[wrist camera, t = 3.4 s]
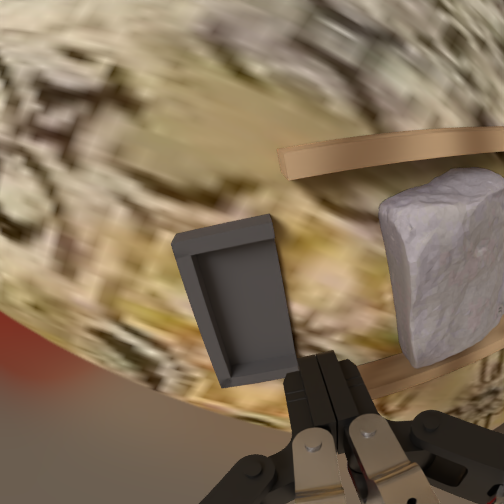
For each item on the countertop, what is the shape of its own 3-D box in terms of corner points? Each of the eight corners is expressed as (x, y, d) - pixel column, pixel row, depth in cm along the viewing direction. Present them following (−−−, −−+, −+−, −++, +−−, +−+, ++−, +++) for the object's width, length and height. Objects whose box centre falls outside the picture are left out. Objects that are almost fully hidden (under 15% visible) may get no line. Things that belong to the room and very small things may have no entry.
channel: (550, 127, 14) (572, 131, 12) (532, 309, 21) (548, 323, 18) (276, 149, 15) (283, 153, 13) (314, 387, 22) (321, 412, 19)
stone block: (468, 150, 17) (358, 201, 17) (523, 161, 13) (416, 225, 12) (477, 289, 22) (387, 352, 21) (516, 314, 18) (425, 392, 17)
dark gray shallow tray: (269, 213, 17) (271, 222, 15) (296, 359, 20) (299, 374, 19) (176, 233, 17) (170, 243, 15) (222, 372, 21) (221, 388, 19)
